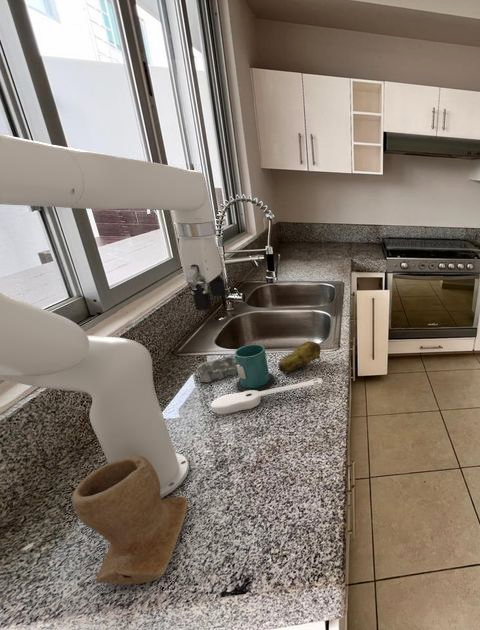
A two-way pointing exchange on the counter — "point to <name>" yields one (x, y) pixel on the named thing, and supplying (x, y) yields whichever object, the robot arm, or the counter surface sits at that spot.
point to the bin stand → (256, 387)
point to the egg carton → (217, 369)
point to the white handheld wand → (251, 398)
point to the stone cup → (130, 519)
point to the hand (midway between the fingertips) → (212, 302)
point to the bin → (252, 366)
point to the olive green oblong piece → (300, 357)
